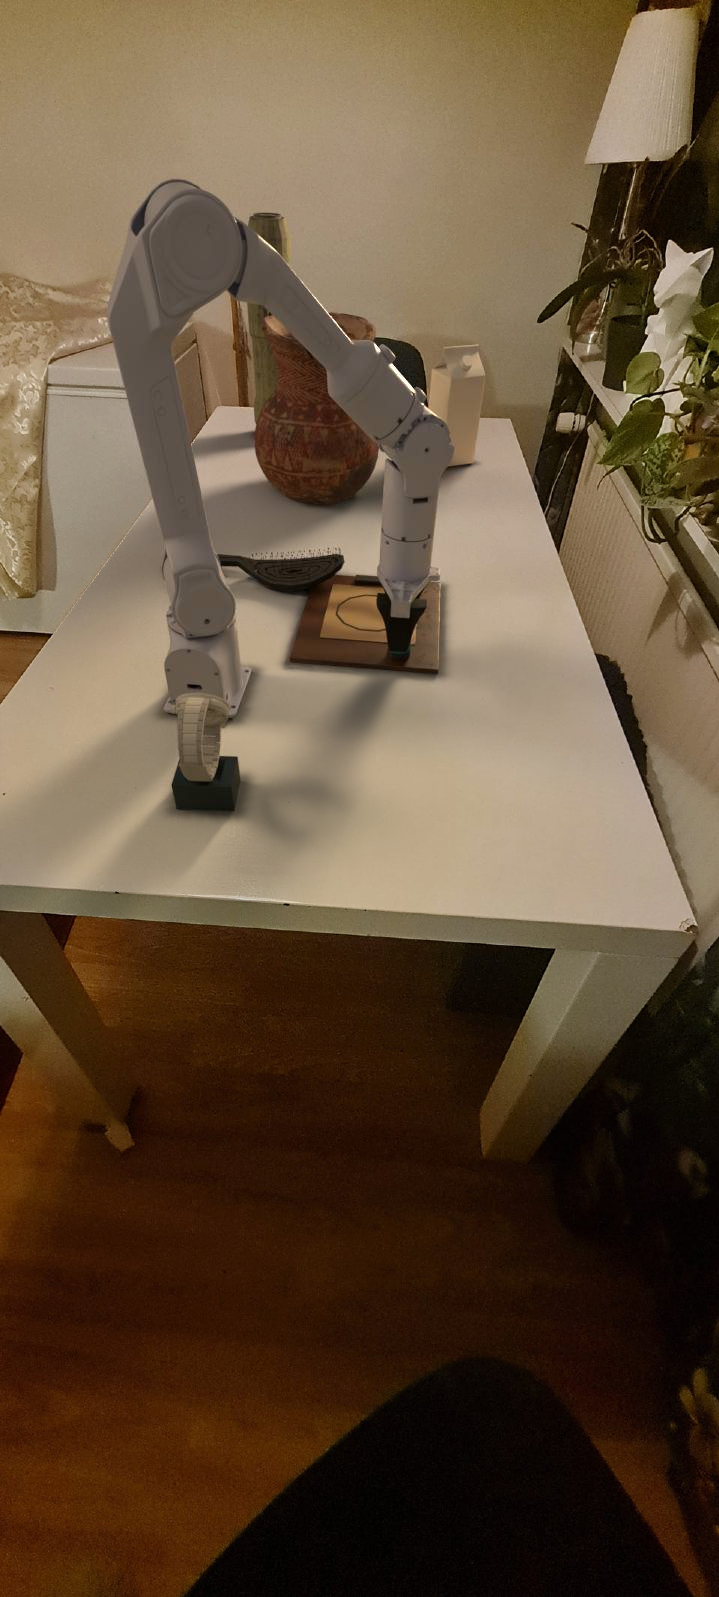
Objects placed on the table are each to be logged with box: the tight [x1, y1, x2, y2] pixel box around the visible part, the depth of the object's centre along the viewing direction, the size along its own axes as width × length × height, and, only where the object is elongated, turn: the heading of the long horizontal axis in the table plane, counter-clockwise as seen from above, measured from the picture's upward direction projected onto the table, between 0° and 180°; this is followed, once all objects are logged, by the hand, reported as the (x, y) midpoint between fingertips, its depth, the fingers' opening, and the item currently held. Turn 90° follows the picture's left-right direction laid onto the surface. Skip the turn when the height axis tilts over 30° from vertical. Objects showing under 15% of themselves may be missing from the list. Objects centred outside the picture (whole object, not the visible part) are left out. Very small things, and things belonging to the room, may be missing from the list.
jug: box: [254, 311, 380, 505], centre depth 116 cm, size 22×21×25 cm
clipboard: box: [288, 574, 441, 674], centre depth 93 cm, size 22×18×1 cm
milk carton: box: [427, 344, 486, 468], centre depth 131 cm, size 7×7×19 cm
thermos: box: [246, 212, 292, 424], centre depth 132 cm, size 9×12×35 cm
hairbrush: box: [216, 547, 346, 592], centre depth 99 cm, size 8×4×25 cm
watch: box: [170, 693, 241, 812], centre depth 65 cm, size 6×8×11 cm
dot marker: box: [387, 638, 412, 661], centre depth 84 cm, size 3×3×7 cm
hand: (398, 641), depth 85 cm, fingers open, 3 cm apart
